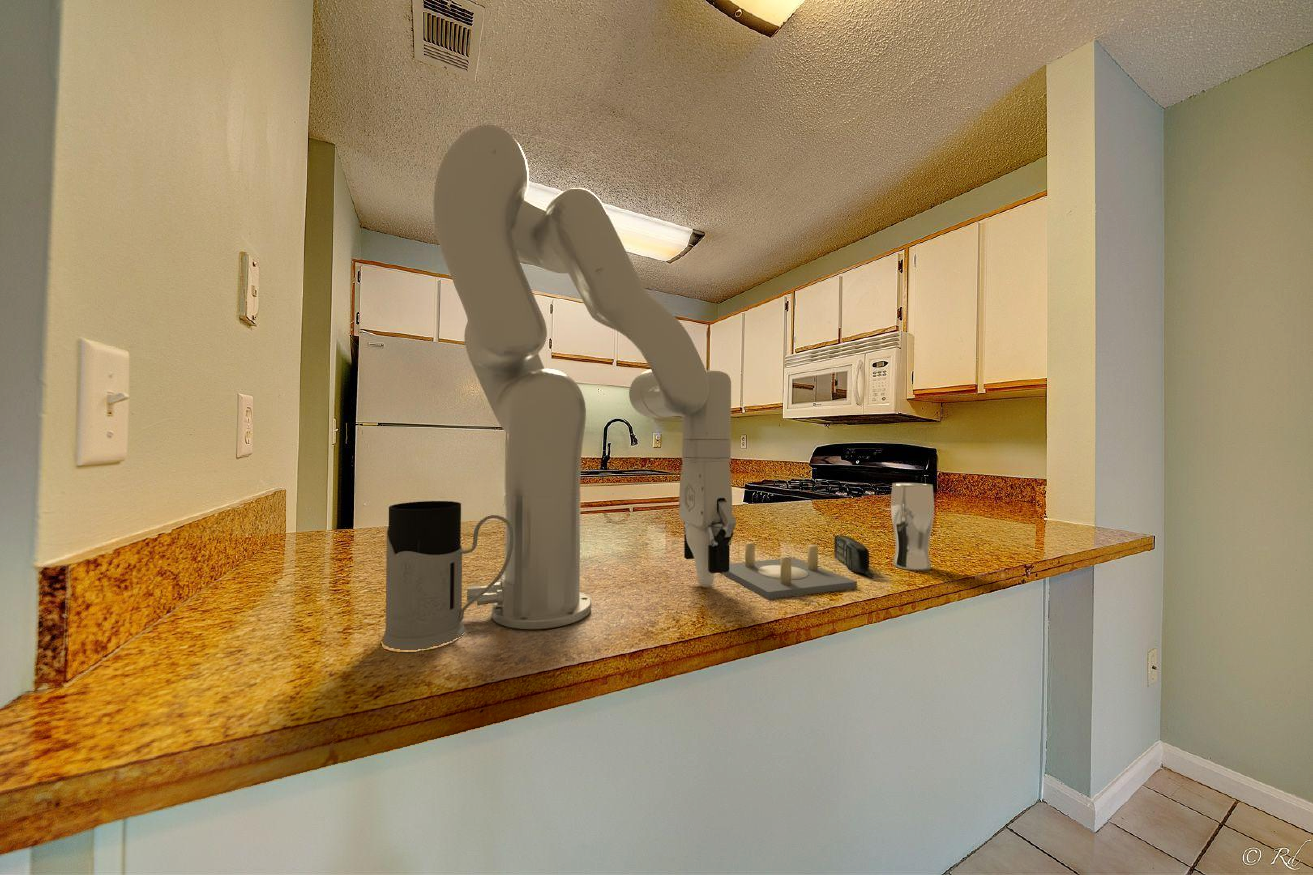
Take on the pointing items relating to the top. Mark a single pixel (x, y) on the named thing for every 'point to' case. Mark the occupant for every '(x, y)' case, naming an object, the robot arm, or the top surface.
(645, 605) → the top surface
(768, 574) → the pin board
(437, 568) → the glass holder
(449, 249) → the robot arm
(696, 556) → the lightbulb
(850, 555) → the mobile phone
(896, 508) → the beer glass
